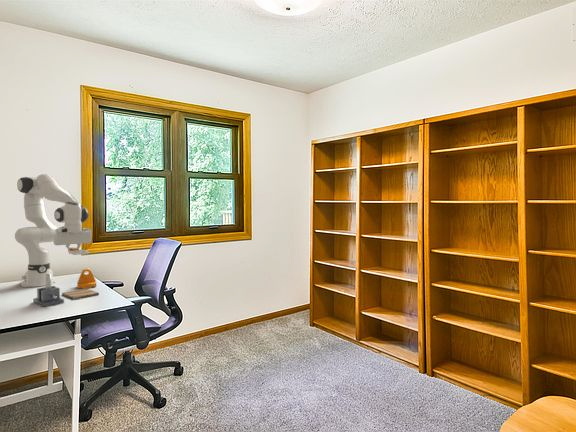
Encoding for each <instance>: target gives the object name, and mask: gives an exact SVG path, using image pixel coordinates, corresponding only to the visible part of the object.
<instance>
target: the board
mask: <svg viewBox="0 0 576 432" xmlns="http://www.w3.org/2000/svg"><path fill="white" fill-rule="evenodd" d="M99 294H100V293H99V292H98V291H95V290H91V289H90V288H85V289H82V288H81V289H77V290H72V291H67V292H62V294H61V295H62V296H63V295H64V296H63V297H66V298H68V297H69V299H71V300H73V299H74V301H75V299H76V300H81V299H85V297H86V298H91V297H95V296H99ZM80 298H81V299H80Z"/></svg>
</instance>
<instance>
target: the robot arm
mask: <svg viewBox="0 0 576 432" xmlns="http://www.w3.org/2000/svg"><path fill="white" fill-rule="evenodd" d="M16 185H17V190H18V191H19V192H20V193H22V194H24V195H23V207H24V215H25V219H26V220H27V221H28V222H30V223H33V224H35V226H26V227H25V226H24V227H21V228H18V229H17V230H16V231H15V233H14V239H15V241H16V242H17V243H18V244H20V245H22V247H24V248H25V250H26V251H27V256H28V265H27V270H26V272H25V273H24V275H22V276H21V278H22V280H23V281H20V285H21V287H22V288H27V287H28V288H29V287H30V288H35V287H38V288H39V287H46V274H51V285H52V284H54V283H56V280H55V279H54V273H53V270H52V269H51V263H50V252H49V251H48V249H46V248H44V247H41V246H40V244H41V243H42V244H43V243H44V244H45V243H51V242H53V245H55V246H65V248H67V252H68V253H69V251H72V249H70V248H71V247H70V246H71V245H76V248H78V249H79V250H80V248H81V244H91V243H92V241H93V240H92V239H93V238H92V229H91V228H88V227H85V228H82V224H83V223H85V222H86V221H87V220H88V218H89V215H90V214H89V211H88V209H87V208H86V207H85V206H83V205H81V203H80V202H79V201H78V200H77V199H76V197H74V196H73V195H72V194H71V193H70V192H69V191H66V190H65V189H64V188H62V187H61V186H60V185H59V184H58V183H57V181H56V180H55V179H54V178H53V176H51V175H49V174H48V173H43V174H39V175H38V176H35V177H30V176H28V177H27V176H26V177H25V176H24V177H20V178H19V179H18V180H17V183H16ZM44 199H45V200H48V201H51V202H59V203H63V204H64V205H63V206H61V207H57V208H56V209H55V211H54V215H53V216H54V219H55V220H56V222H58V223H62V224H63V223H64V225H63V226H60V227H58V226H56V225H54V224H53V223H51V221H50V220H49V218H48V216H47V214H46V208H45V202H44Z"/></svg>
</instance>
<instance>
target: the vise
mask: <svg viewBox="0 0 576 432" xmlns="http://www.w3.org/2000/svg"><path fill="white" fill-rule="evenodd" d="M36 289H37V291H36V293H37V294H36V295H37V296H36V297H35V298H33V299H32V300H33V303H34V304H36V305H38V306H40V307H43V308H46V307H50V305H51V306H56V305H60V303H61V304H64V303H65V301H64V298H61V297H60V295H61V294H60V292H61V291H60V287H57V286H54V285H52V284H51V274H46V285H45V286H43V287H38V288H36ZM55 304H56V305H55Z"/></svg>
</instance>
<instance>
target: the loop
mask: <svg viewBox="0 0 576 432" xmlns="http://www.w3.org/2000/svg"><path fill="white" fill-rule="evenodd" d="M69 248H70V249H72V251H69V252H68V254H70V255H74V256H78V255H79V256H80V255H87V254H90V250H87V249H80V248H79V249H78V248H77V247H75V246H73V247H69Z"/></svg>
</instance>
